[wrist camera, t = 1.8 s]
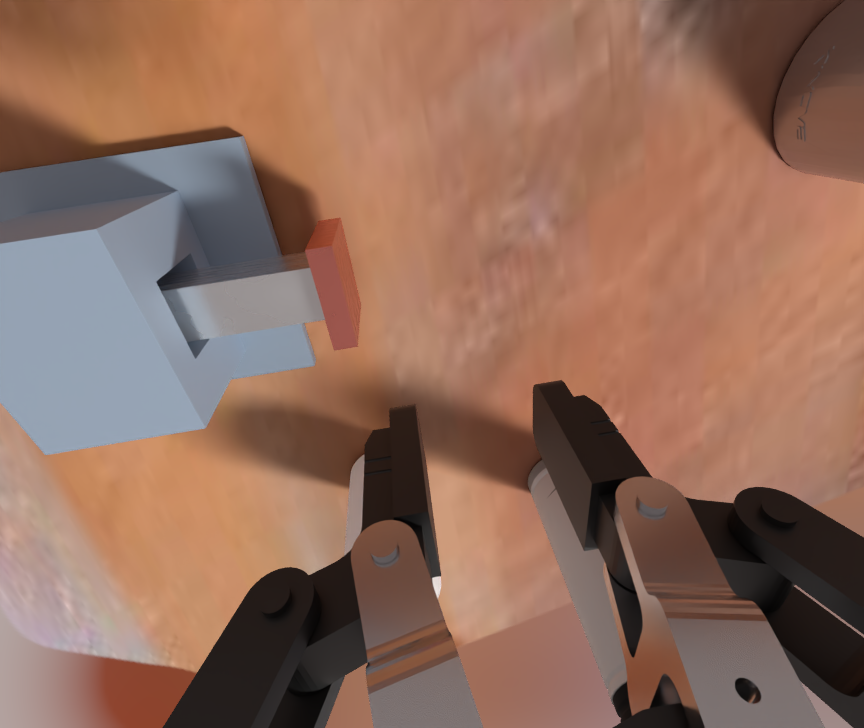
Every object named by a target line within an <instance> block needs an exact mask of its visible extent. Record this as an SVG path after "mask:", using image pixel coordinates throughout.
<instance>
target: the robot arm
mask: <svg viewBox="0 0 864 728" xmlns="http://www.w3.org/2000/svg"><path fill="white" fill-rule="evenodd" d="M774 138H775V142H776V146H777V150H778V151H779V153H780V155H781V156H782V158H783V160H784V161H785V162H786V163H787V164H789V165H790V166H791V167H792V168H793V169H796V170H799V171H801V172H804V173H808V174H813V175H819V176H824V177H830V178H836V179H841V180H847V181H852V182H858V183H863V184H864V0H845V1H843V2H842V3H841V4H840V5H839V6H838V7H836V8H835V9H834V10H833V11H832V12H831V13H829V14H828V15H827V16H826V17H825V18H824V19H823V20H822V22H821V23H820V24H819V25H818V26H817V27H816V28H815V29H814V31H813V32H812V33H811V34H810V35H809V37H808V38H807V39H806V41H805V42H804V44H803V45H802V47H801V48H800V50H799V51H798V53H797V54H796V55H795V57H794V59H793V61H792V63H791V65H790V67H789V69H788V71H787V73H786V75H785V77H784V79H783V82H782V85H781V88H780V91H779V94H778V97H777V101H776V106H775V112H774ZM389 417H390V428H384V429H378V430H373V431H372V433H371V435H370V437H369V439H368V440H367V442H366V444H365V454H364V462H365V464H364V482H363V509H362V528H361V533H360V535H359V536H358V537H357V539H356V540H355V542H354V544H353V547H352V549H351V550H350V551H349V552H348V553H347V554H346V555H345V556H344V557H342V558H341V559H340V560H338V561H336V562H335V563H333V564H331V565H329V566H327V567H325V568H323V569H321V570H319V571H317V572H315V573H313V574H311V575H308V574H307V573H306V572H304V571H303V570H301V569H298V568H292V567H289V568H282V569H278V570H275V571H273V572H271V573H269V574H267V575H266V576H264V577H263V578H261V579H260V580H259V581H258V582H257V583H256V584H255V585H254V586H253V587H252V588H251V589H250V590H249V592H248V593H247V595H246V596H245V598H244V599H243V601H242V603H241V604H240V606H239V607H238V609H237V611H236V612H235V614H234V615H233V617H232V618H231V620H230V622H229V623H228V625H227V626H226V628H225V630H224V631H223V633H222V634H221V636H220V638H219V639H218V641H217V642H216V644H215V645H214V647H213V649H212V650H211V652H210V653H209V655H208V657H207V658H206V660H205V661H204V663H203V664H202V666H201V668H200V669H199V671H198V672H197V674H196V676H195V677H194V679H193V680H192V682H191V684H190V685H189V687H188V688H187V690H186V691H185V693H184V695H183V696H182V698H181V699H180V701H179V703H178V704H177V706H176V708H175V709H174V711H173V712H172V714H171V715H170V717H169V718H168V720H167V722H166V723H165V725H164V726H163V728H325V726H326V724H327V721H328V719H329V716H330V713H331V711H332V708H333V706H334V702H335V700H336V698H337V695H338V693H339V690H340V687H341V685H342V682H343V680H344V677H345V675H347V674H348V673H350V672H352V671H353V670H355V669H357V668H359V667H360V666H362V665H364V664H365V663H367V662H368V665H367V666H366V679H367V688H368V695H369V701H370V707H371V713H372V720H373V726H374V728H483V725H482V723H481V720H480V717H479V714H478V711H477V708H476V705H475V702H474V699H473V696H472V694H471V690H470V687H469V684H468V681H467V679H466V675H465V672H464V669H463V667H462V663H461V661H460V658H459V655H458V652H457V649H456V646H455V643H454V640H453V638H452V635H451V633H450V632H449V630H448V628H447V625H446V623H445V620H444V617H443V614H442V611H441V608H440V605H439V602H438V599H437V596H436V593H435V590H434V587H433V581H432V578H433V577H439V576H441V570H440V563H439V555H438V548H437V540H436V533H435V525H434V518H433V510H432V503H431V495H430V488H429V480H428V473H427V465H426V459H425V452H424V446H423V441H422V436H421V430H420V425H419V419H418V414H417V409H416V404H414V405H408V406H402V407H396V408H390V409H389ZM533 434H534V439H535V443H536V446H537V449H538V451H539V453H540V455H541V458H542V460H543V462H544V464H545V466H546V469H547V471H548V473H549V475H550V477H551V480H552V482H553V484H554V486H555V488H556V491H557V493H558V495H559V497H560V499H561V502H562V504H563V506H564V508H565V510H566V513H567V515H568V517H569V519H570V521H571V524H572V526H573V528H574V530H575V532H576V535H577V537H578V539H579V541H580V543H581V546H582V548H583V550H584V551H589V550H594V549H599V551H600V553H601V555H602V557H603V559H604V567H603V575H604V580H605V583H606V587H607V591H608V595H609V599H610V603H611V607H612V611H613V615H614V619H615V623H616V627H617V631H618V635H619V639H620V643H621V647H622V651H623V655H624V659H625V664H626V671H627V687H628V696H629V703H630V708H631V713H632V716H631V717H630V718H628V719H626V720H625V721H623V722H621V723H620V724H618V725H617V726H615V727H613V728H825V727H824V725H823V723H822V721H821V719H820V718H819V716H818V714H817V712H816V710H815V708H814V706H813V705H812V703H811V701H810V699H809V697H808V695H807V693H806V691H805V690H804V688H803V686H802V684H801V682H802V683H803V684H805V686H807V687H808V688H809V689H810V690H811V691H812V692H813V693H815V694H816V695H817V696H818V697H819V698H820V699H821V700H823V701H824V702H825V703H826V704H827V705H828V706H829V707H830V708H832V709H833V710H834V711H835V712H836V713H838V714H839V715H840V716H841V717H842V718H843V719H844V720H845V721H846V722H848V723H849V724H850V725H851V726H852V727H853V728H864V638H863V637H862V636H861V635H859V634H858V633H857V632H855V631H854V630H853V629H851V628H850V627H848V626H847V625H846V624H844V623H843V622H842V621H840V620H839V619H838V618H836V617H835V616H833V615H832V614H831V613H829V612H828V611H827V610H825V609H824V608H823V607H821V606H820V605H819V604H817V603H816V602H814V601H813V600H812V599H810V598H809V597H808V596H806V595H805V594H804V593H802V592H801V591H800V590H798V589H797V588H795V587H794V585H797V586H798V587H800V588H801V589H802V590H804V591H805V592H806V593H808V594H809V595H811V596H812V597H813V598H815V599H816V600H818V601H819V602H820V603H821V604H823V605H824V606H826V607H827V608H828V609H830V610H831V611H832V612H834V613H835V614H837V615H838V616H839V617H841V618H842V619H843V620H845V621H846V622H847V623H849V624H850V625H852V626H853V627H854V628H856V629H857V630H858V631H860V632H861V633H863V634H864V538H863V537H862V536H860V535H858V534H857V533H855V532H853V531H852V530H850V529H848V528H847V527H845V526H843V525H841V524H840V523H838V522H836V521H835V520H833V519H831V518H830V517H828V516H826V515H825V514H823V513H821V512H819V511H818V510H816V509H814V508H813V507H811V506H809V505H808V504H806V503H804V502H803V501H801V500H799V499H797V498H796V497H794V496H792V495H790V494H787V493H785V492H782V491H779V490H776V489H771V488H765V487H753V488H748V489H745V490H743V491H741V492H740V493H739V494H738V495H737V496H736V498H735V500H734V503H725V502H715V501H705V500H696V499H690V498H686V497H684V496H683V495H682V493H681V492H680V491H678V490H677V489H676V488H675V487H673V486H672V485H670V484H668V483H666V482H664V481H662V480H659V479H656V478H653V477H652V476H651V475H650V474H649V472H648V471H647V469H646V468H645V467H644V465H643V464H642V462H641V461H640V460H639V458H638V457H637V456H636V454H635V453H634V451H633V450H632V449H631V447H630V446H629V444H628V443H627V442H626V440H625V439H624V438H623V436H622V435H621V433H619V432H618V429H617V428H616V426H615V425H614V424H613V422H611V421H610V418H609V417H608V415H607V414H606V413H605V411H604V410H603V408H602V407H601V406H600V405H599V404H597V403H596V402H594V401H593V400H591V399H590V398H588V397H587V396H585V395H582V396H576V397H573V395H572V394H571V392H570V391H569V389H568V388H567V386H566V385H565V383H564V382H563V381H562V380H559V381H553V382H547V383H542V384H536V385H534V387H533ZM800 681H801V682H800Z"/></svg>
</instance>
